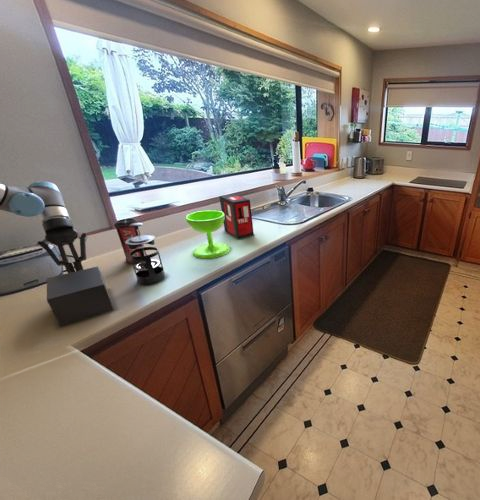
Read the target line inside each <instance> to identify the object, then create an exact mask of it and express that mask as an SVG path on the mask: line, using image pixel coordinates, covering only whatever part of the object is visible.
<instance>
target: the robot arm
mask: <svg viewBox="0 0 480 500" xmlns="http://www.w3.org/2000/svg"><path fill="white" fill-rule="evenodd" d="M0 211H4V212H8V213H12V214H14V215H17V216H21V217H26V218H29V217H30V218H31V217H36V216H38V217H39V220H40V223H41V225H42V229H43V230H44V233H45V236H44V239H43V240H39V241H37V242H36V243H37V245H38V246H39V247H40V248H41V249H43V250H45V251H46V253H47V254H48V256H49V257H50V258H51V259H52V261H54V263H55V264H56V266H58V267H61V266H64V268H65V270H66V273H72V272H76V271H80V270H84V266H83V265H82V262H83V261H86V260H87V245H86V244H87V242H86V241H87V240H88V235H87V233H85V232H82V233H81V232H78V231H77V230H76V229H75V227H74V224H73V222H72V220H71V217H70V215H69V212H68V209H67V207H66V205H65V201H64V198H63V194H62V193H61V191H60V189H59V188H58V186H57V185H56V184H55V183H53V182H50V181H47V180H46V181H45V180H44V181H43V180H41V181H34V182H31V183H30V184H29V185H28V187H27V186H24V187H23V186H12V185H5V184H3V183H0ZM77 238H78V240H79V248H80V250H79V251H80V256H79V254H78V252H77V249H76V247H75V245H74V243H75V241H77V240H76V239H77ZM50 244H53V245H54V246H57V248H58V252H59V255H60V258H61V260H60V259H59V257H57V255H56V254H55V252H53V250H52V249H51V248H50ZM65 246H68V247H69V250H70V253H71V254H72V257H73V259H74V261H72V262H69V258H68V255H67V253H66V250H65Z"/></svg>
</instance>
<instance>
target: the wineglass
mask: <svg viewBox="0 0 480 500" xmlns="http://www.w3.org/2000/svg"><path fill="white" fill-rule="evenodd" d="M224 219H225V214H224V213H223V212H222V210H215V209H214V210H213V209H209V210H198V211H194V212H191V213H188V214H187V215H186V216H185V220H186V223H187V224H188V225H189V226H190V228H191V229H193V230H194V231H195V232H199V233H202V234H203V233H204V234H206V237H207V244H203V245H200V246H198V247H197V248H195V249H194V251H193V256H194V257H196V258H199V259H215V258H219V257H222V256H224V255H227V254H228V253H229V252H230V250H231V248H230V246H229V245H228V244H225V243H221V242H214V241H213V237H212V233H213V232H216V231H218V230H219V229H220V228H221V227H222V226H223V225H224V223H223V222H224Z"/></svg>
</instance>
